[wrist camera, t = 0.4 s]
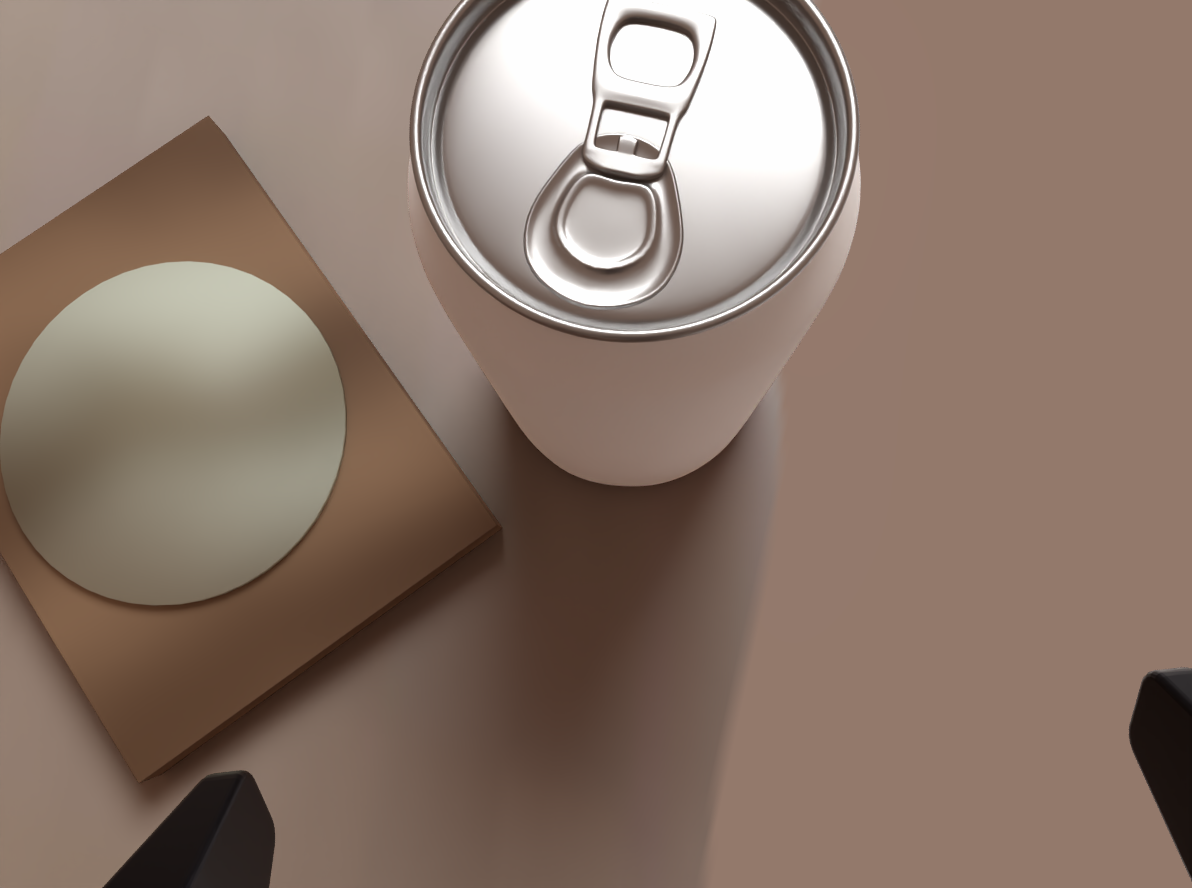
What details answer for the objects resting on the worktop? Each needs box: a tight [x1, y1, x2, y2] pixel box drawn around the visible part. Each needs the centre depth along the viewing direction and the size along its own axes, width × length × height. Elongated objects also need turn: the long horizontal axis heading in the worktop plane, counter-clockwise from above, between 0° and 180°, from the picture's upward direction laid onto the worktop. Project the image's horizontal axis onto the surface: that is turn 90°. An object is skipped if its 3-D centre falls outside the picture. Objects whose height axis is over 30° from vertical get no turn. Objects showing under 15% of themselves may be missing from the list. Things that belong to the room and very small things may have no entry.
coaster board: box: [0, 116, 502, 783], centre depth 23 cm, size 13×10×1 cm
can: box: [408, 0, 861, 486], centre depth 17 cm, size 6×6×12 cm
